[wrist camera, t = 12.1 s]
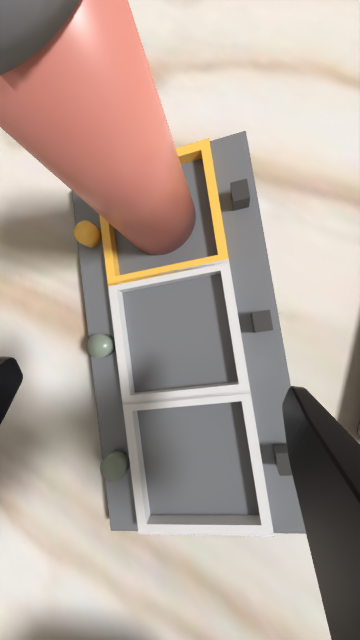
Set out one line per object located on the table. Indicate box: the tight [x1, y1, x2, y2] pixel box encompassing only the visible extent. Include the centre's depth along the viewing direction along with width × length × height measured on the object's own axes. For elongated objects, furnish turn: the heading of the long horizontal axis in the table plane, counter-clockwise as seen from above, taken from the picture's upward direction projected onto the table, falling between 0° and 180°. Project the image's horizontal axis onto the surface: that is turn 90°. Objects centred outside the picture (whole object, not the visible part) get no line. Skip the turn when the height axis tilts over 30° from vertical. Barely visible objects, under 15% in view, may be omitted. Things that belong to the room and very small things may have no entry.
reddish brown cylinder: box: [0, 0, 196, 255], centre depth 11 cm, size 5×5×13 cm
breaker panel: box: [72, 131, 306, 537], centre depth 17 cm, size 25×13×2 cm, turn 8°
